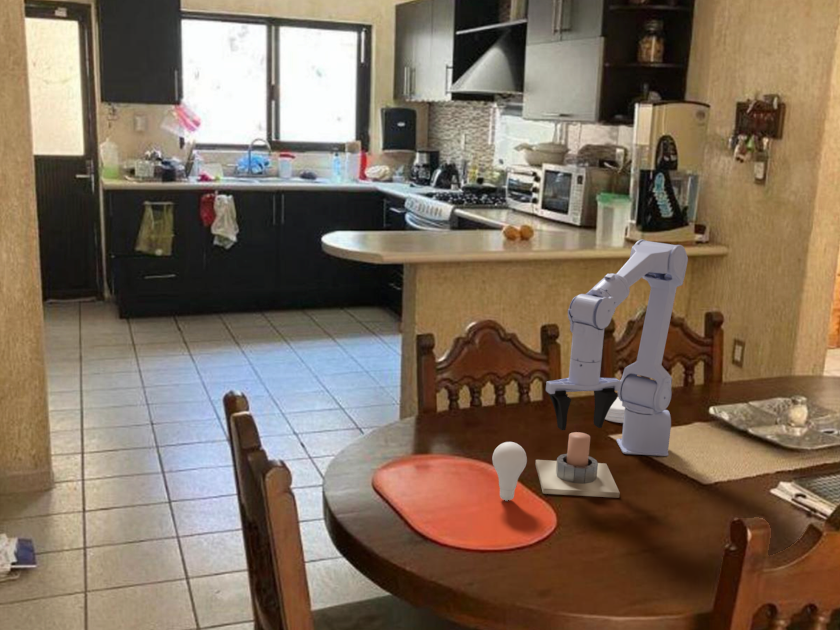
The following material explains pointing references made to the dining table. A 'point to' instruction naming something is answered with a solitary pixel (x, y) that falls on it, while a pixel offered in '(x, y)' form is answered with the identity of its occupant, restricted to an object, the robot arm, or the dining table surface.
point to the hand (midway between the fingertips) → (579, 427)
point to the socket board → (576, 478)
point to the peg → (578, 449)
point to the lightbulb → (509, 467)
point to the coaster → (616, 412)
